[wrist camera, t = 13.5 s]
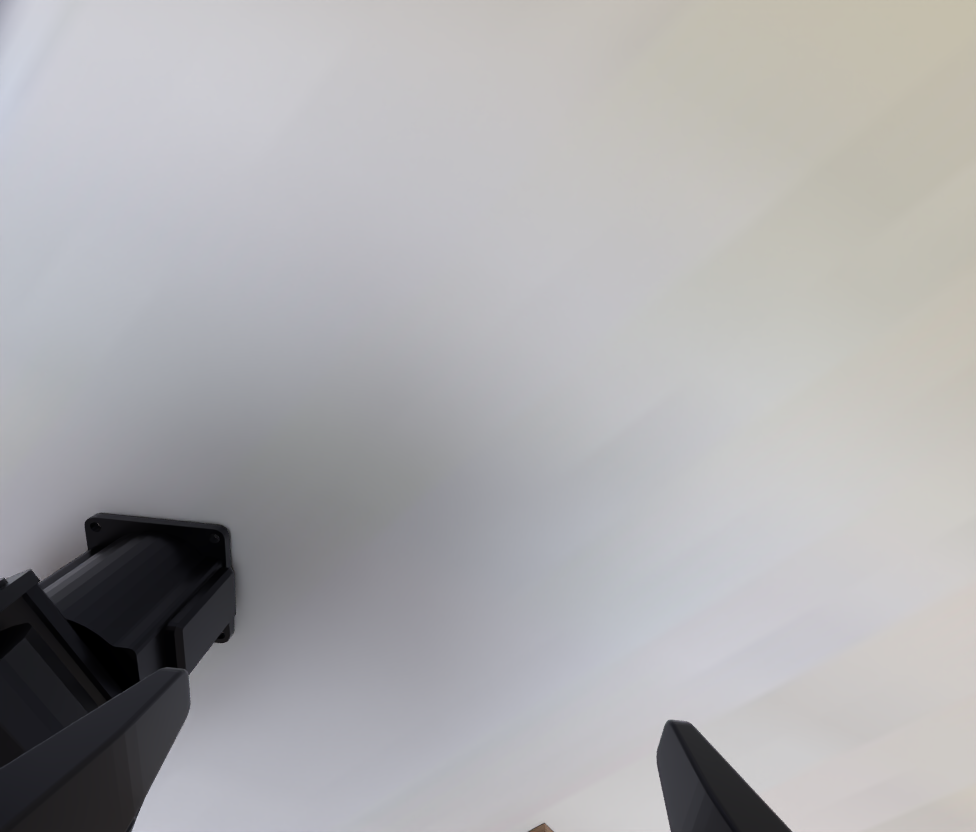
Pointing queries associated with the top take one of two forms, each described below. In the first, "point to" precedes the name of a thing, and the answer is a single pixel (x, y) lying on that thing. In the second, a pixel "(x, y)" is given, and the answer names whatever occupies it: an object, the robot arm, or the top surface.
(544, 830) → the walnut socket block
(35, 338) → the top surface
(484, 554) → the top surface
